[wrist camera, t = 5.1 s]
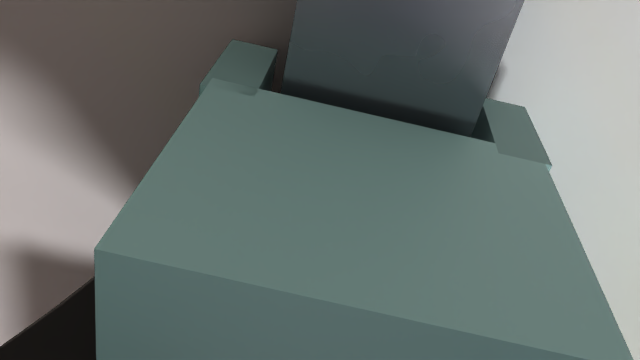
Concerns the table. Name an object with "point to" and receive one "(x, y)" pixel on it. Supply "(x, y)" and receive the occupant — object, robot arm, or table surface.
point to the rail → (400, 57)
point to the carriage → (344, 238)
